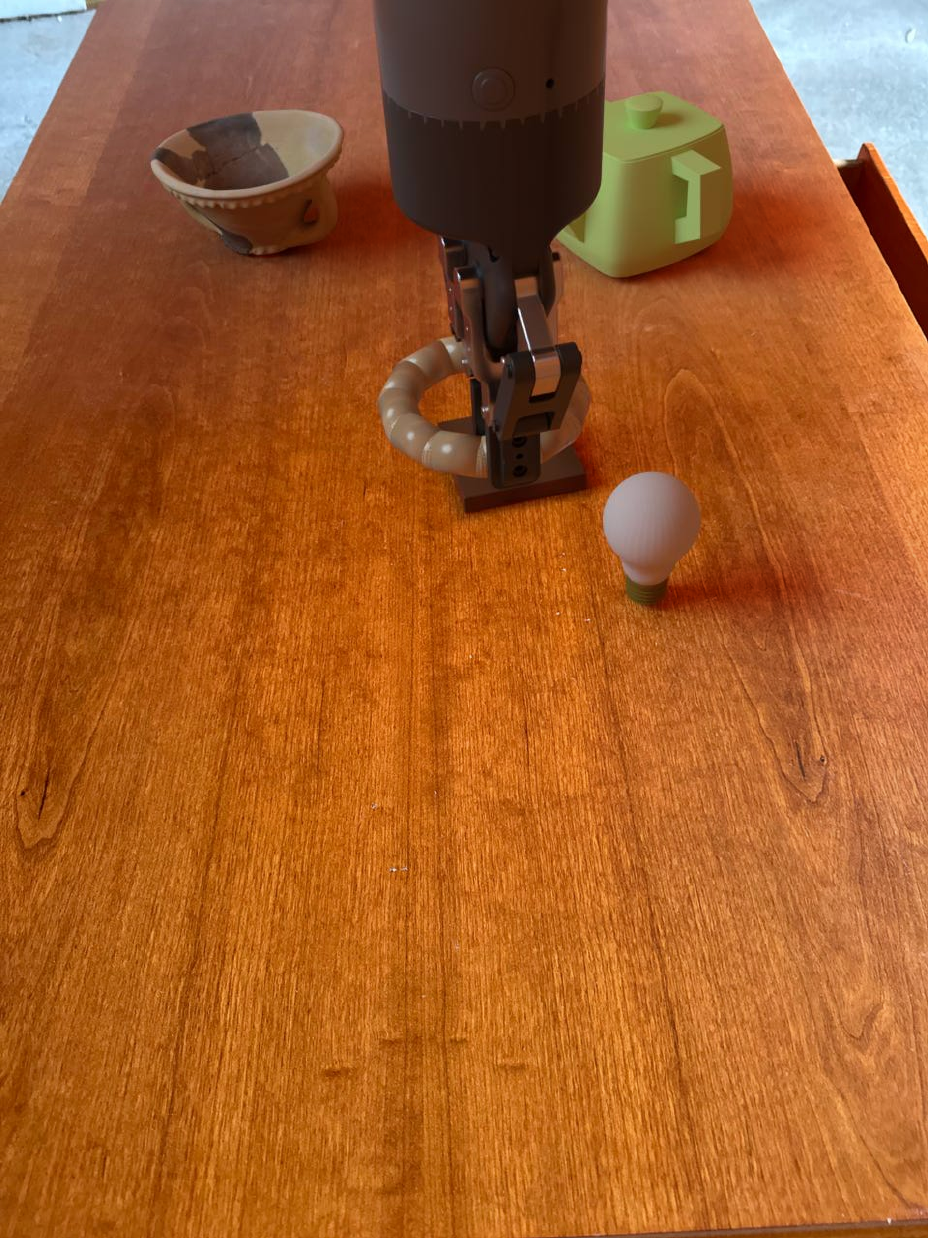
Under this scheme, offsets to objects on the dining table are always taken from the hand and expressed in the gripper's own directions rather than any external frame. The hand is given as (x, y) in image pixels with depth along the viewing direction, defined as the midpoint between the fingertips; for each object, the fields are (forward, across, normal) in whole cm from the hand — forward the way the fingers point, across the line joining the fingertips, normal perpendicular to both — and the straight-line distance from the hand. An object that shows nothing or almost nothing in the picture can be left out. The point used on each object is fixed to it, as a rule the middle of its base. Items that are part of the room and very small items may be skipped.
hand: (506, 461), depth 51 cm
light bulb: (+23, +10, -12) cm, 27 cm away
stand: (+23, +26, -7) cm, 35 cm away
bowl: (+23, +65, +7) cm, 69 cm away
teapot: (+23, +51, -24) cm, 61 cm away
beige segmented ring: (-1, +4, 0) cm, 4 cm away
